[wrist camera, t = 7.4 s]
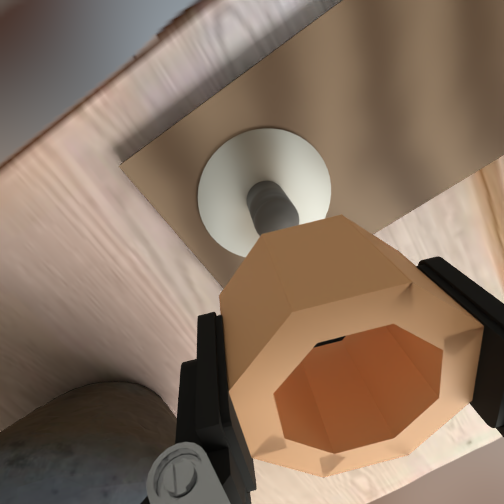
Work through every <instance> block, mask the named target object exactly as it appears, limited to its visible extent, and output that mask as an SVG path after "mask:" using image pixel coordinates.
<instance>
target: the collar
mask: <svg viewBox="0 0 504 504" xmlns="http://www.w3.org/2000/svg"><path fill="white" fill-rule="evenodd" d="M219 299H220V311H221V315H222V319H223V331H224V343H225V355H226V367H227V379H228V391H229V394H230V397H231V400H232V403H233V406H234V409H235V412H236V414H237V417H238V420H239V423H240V426H241V429H242V432H243V434H244V437H245V440H246V443H247V446H248V449H249V452H250V454H251V457H252V458H254V459H258V460H261V461H265V462H269V463H272V464H276V465H280V466H283V467H287V468H291V469H294V470H298V471H302V472H305V473H309V474H312V475H316V476H320V477H323V478H324V477H328V476H331V475H335V474H339V473H343V472H347V471H350V470H354V469H358V468H362V467H365V466H369V465H373V464H377V463H381V462H384V461H388V460H392V459H396V458H400V457H403V456H407V455H409V454H410V453H411V452H413V451H414V450H415V449H416V448H417V447H418V446H420V445H421V444H422V443H423V442H424V441H425V440H427V439H428V438H429V437H430V436H431V435H432V434H434V433H435V432H436V431H437V430H438V429H439V428H441V427H442V426H443V425H444V424H445V423H446V422H448V421H449V420H450V419H451V418H452V417H453V416H455V415H456V414H457V413H458V412H459V411H460V410H462V409H463V408H464V407H465V406H466V405H467V404H469V403H470V402H471V401H472V399H473V393H474V387H475V380H476V374H477V368H478V362H479V355H480V349H481V343H482V336H483V330H484V325H482V324H481V323H480V322H479V321H478V320H477V319H475V318H474V317H473V316H472V315H471V314H470V313H469V312H467V311H466V310H465V309H464V308H463V307H462V306H461V305H459V304H458V303H457V302H456V301H455V300H454V299H452V298H451V297H450V296H449V295H448V294H447V293H446V292H444V291H443V290H442V289H441V288H440V287H439V286H437V285H436V284H435V283H434V282H433V281H432V280H431V279H429V278H428V277H427V276H426V275H425V274H424V273H423V272H421V271H420V270H419V269H418V268H417V267H416V266H415V265H414V264H413V263H412V262H411V261H409V260H408V259H407V258H406V257H405V256H404V255H402V254H401V253H400V252H399V251H398V250H396V249H394V248H393V247H391V246H390V245H388V244H386V243H385V242H383V241H382V240H380V239H379V238H377V237H376V236H374V235H373V234H371V233H369V232H368V231H366V230H365V229H363V228H362V227H360V226H359V225H357V224H356V223H354V222H352V221H351V220H349V219H348V218H346V217H345V216H343V215H342V214H341V215H337V216H333V217H329V218H325V219H321V220H317V221H313V222H309V223H305V224H301V225H297V226H293V227H289V228H285V229H281V230H276V231H272V232H268V233H264V234H261V236H260V238H259V239H258V240H257V242H256V243H255V245H254V246H253V248H252V249H251V250H250V252H249V253H248V255H247V256H246V258H245V259H244V261H243V262H242V263H241V265H240V266H239V268H238V269H237V271H236V272H235V274H234V275H233V276H232V278H231V279H230V281H229V282H228V284H227V285H226V287H225V288H224V289H223V291H222V292H221V294H220V295H219ZM343 336H346V337H345V338H344V339H343V340H342V341H338V342H334V343H330V344H327V345H323V346H319V347H315V348H313V347H314V346H315V345H316V344H317V343H319V342H323V341H327V340H331V339H335V338H339V337H343Z"/></svg>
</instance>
